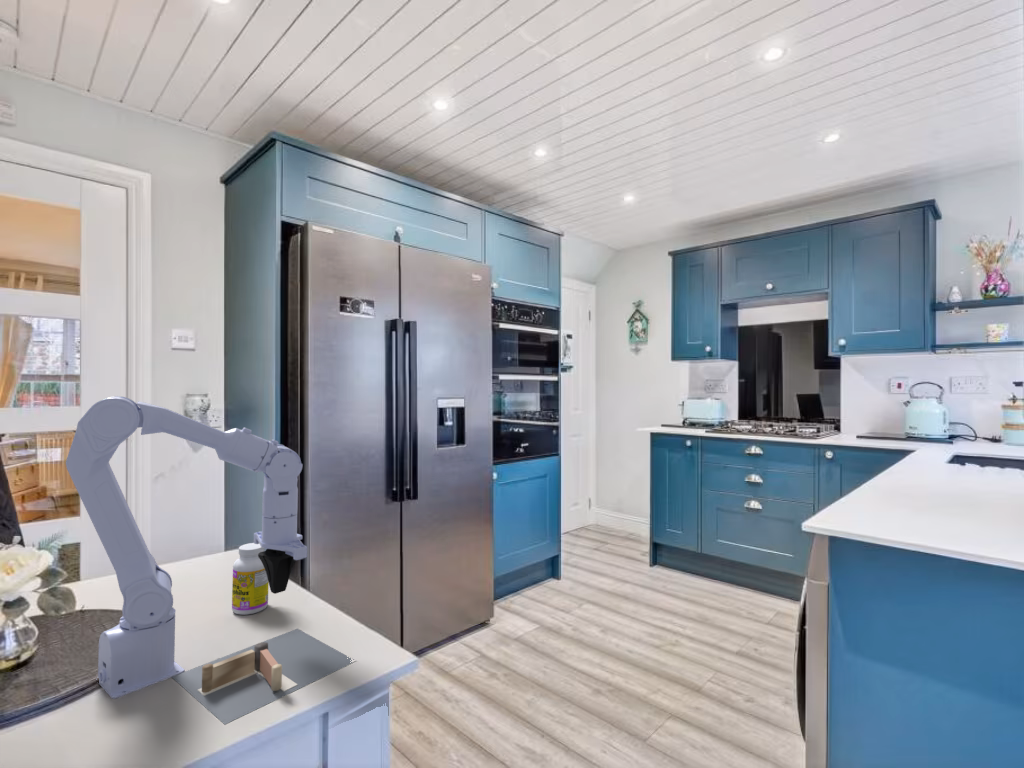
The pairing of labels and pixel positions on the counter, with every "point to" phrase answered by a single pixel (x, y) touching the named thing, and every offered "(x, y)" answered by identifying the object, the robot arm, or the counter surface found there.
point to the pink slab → (271, 670)
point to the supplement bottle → (249, 581)
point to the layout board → (250, 692)
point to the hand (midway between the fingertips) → (278, 591)
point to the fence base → (231, 668)
